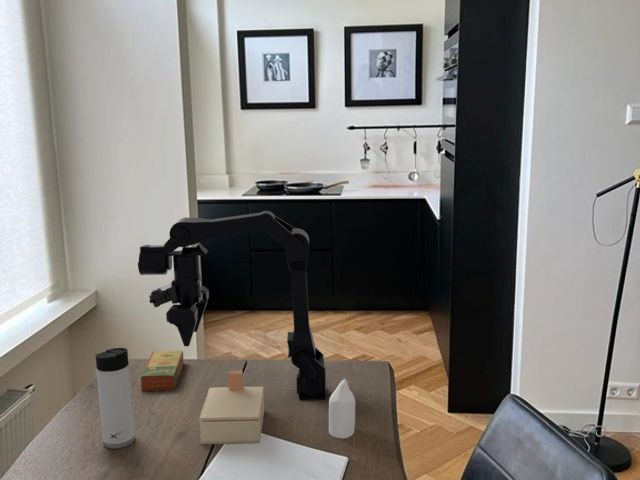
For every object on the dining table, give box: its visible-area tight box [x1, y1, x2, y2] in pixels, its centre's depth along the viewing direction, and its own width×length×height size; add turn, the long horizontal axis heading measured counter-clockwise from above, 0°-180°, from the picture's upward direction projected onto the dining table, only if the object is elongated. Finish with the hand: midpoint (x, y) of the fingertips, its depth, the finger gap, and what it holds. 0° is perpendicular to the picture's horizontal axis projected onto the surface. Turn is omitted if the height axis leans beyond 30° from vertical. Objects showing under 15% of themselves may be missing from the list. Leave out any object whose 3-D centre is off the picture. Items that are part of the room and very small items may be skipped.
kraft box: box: [199, 389, 265, 446], centre depth 135 cm, size 12×14×5 cm
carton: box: [140, 350, 185, 392], centre depth 161 cm, size 8×16×4 cm, turn 4°
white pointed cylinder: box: [328, 378, 356, 440], centre depth 131 cm, size 6×12×6 cm
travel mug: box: [95, 347, 136, 450], centre depth 128 cm, size 6×7×20 cm
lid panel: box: [198, 370, 264, 422], centre depth 134 cm, size 12×14×5 cm
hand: (190, 338), depth 146 cm, fingers open, 9 cm apart
